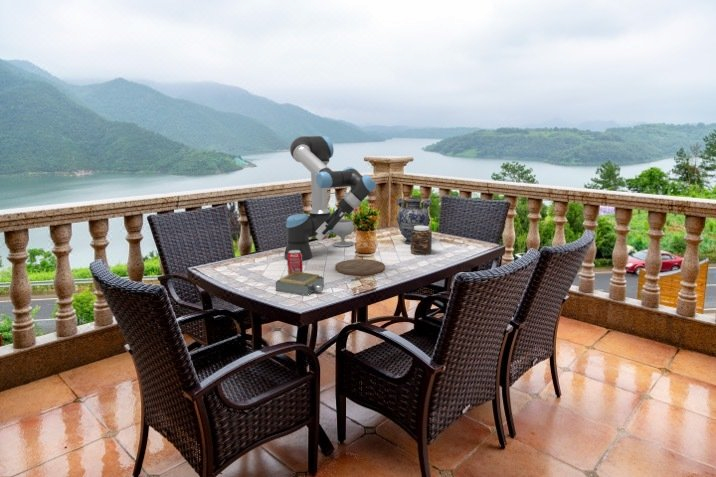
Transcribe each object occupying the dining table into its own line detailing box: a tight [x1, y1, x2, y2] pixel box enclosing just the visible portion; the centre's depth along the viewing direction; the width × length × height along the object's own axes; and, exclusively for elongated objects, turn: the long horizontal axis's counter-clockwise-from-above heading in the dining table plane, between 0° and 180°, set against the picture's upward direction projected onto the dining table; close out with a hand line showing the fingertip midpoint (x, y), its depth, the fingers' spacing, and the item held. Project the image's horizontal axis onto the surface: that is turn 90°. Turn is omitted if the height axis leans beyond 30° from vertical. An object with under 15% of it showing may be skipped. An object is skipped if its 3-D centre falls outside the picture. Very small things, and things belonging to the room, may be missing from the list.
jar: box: [409, 225, 433, 256], centre depth 267 cm, size 12×12×15 cm
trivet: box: [334, 258, 386, 277], centre depth 238 cm, size 25×25×2 cm
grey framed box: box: [275, 271, 325, 296], centre depth 207 cm, size 20×14×5 cm
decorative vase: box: [396, 196, 433, 245], centre depth 290 cm, size 21×19×28 cm
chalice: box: [332, 218, 355, 248], centre depth 287 cm, size 14×14×15 cm
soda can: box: [286, 250, 304, 275], centre depth 225 cm, size 7×7×12 cm
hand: (317, 236), depth 223 cm, fingers open, 13 cm apart
